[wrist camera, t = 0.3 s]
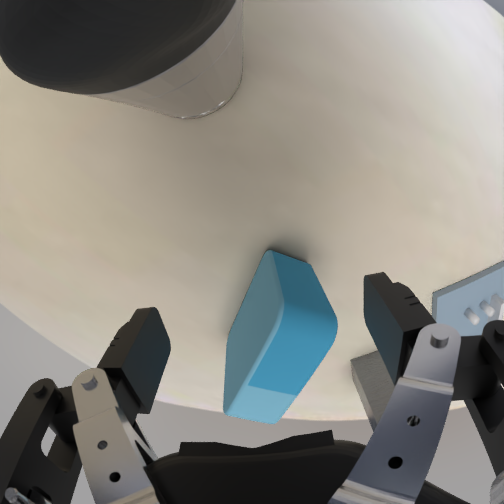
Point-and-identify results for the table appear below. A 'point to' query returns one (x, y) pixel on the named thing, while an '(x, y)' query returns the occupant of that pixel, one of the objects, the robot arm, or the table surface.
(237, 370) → the data package
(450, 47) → the table surface
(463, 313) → the pin tray
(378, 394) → the dark grey rectangular block
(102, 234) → the table surface
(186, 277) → the table surface
